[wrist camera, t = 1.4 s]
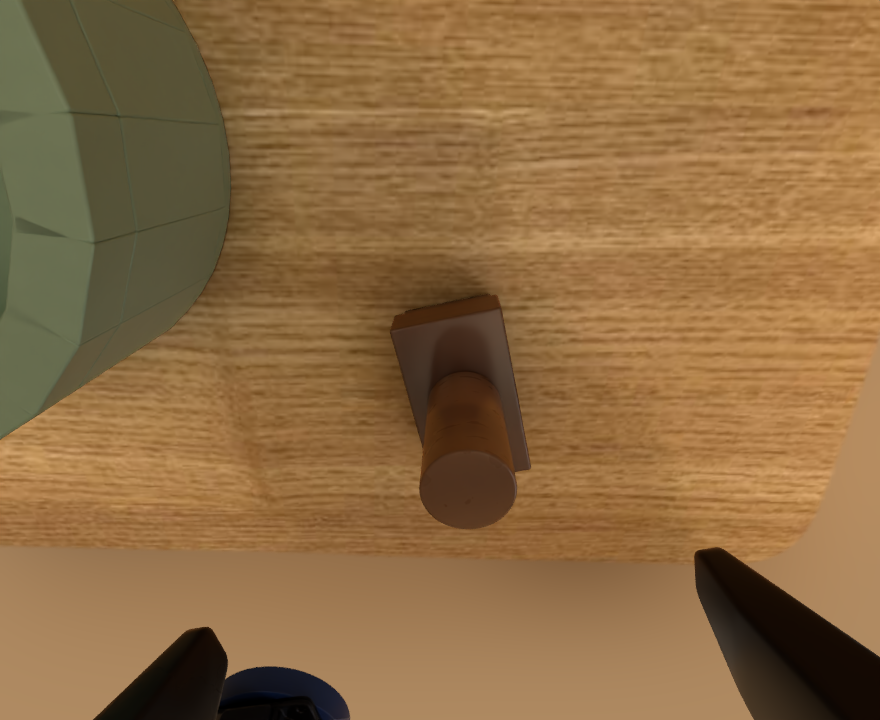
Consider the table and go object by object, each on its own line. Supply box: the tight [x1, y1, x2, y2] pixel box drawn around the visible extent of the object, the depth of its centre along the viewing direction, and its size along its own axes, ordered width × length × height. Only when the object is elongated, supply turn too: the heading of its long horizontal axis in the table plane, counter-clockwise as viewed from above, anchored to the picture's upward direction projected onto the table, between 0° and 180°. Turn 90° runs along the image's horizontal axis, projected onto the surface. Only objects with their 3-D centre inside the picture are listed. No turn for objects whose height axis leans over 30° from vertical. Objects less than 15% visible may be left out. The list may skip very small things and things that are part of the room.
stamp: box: [390, 294, 531, 529], centre depth 16 cm, size 6×4×7 cm, turn 13°
